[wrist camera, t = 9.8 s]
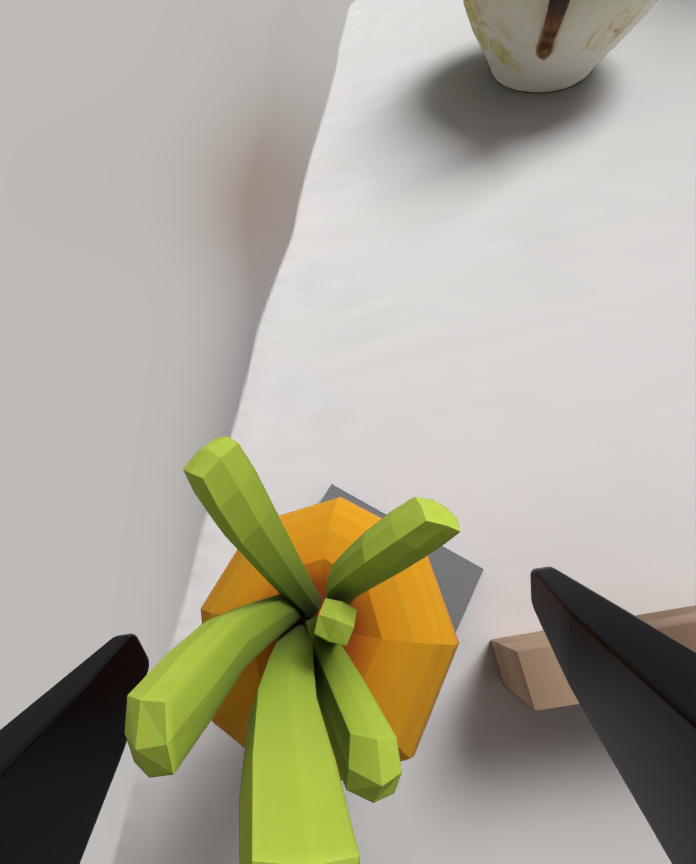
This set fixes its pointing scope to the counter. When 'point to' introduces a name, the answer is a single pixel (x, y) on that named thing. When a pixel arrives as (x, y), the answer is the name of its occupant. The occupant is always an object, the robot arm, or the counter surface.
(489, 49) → the sugar bowl
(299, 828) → the carrot
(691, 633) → the walnut block
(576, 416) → the counter surface
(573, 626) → the robot arm
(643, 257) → the counter surface
